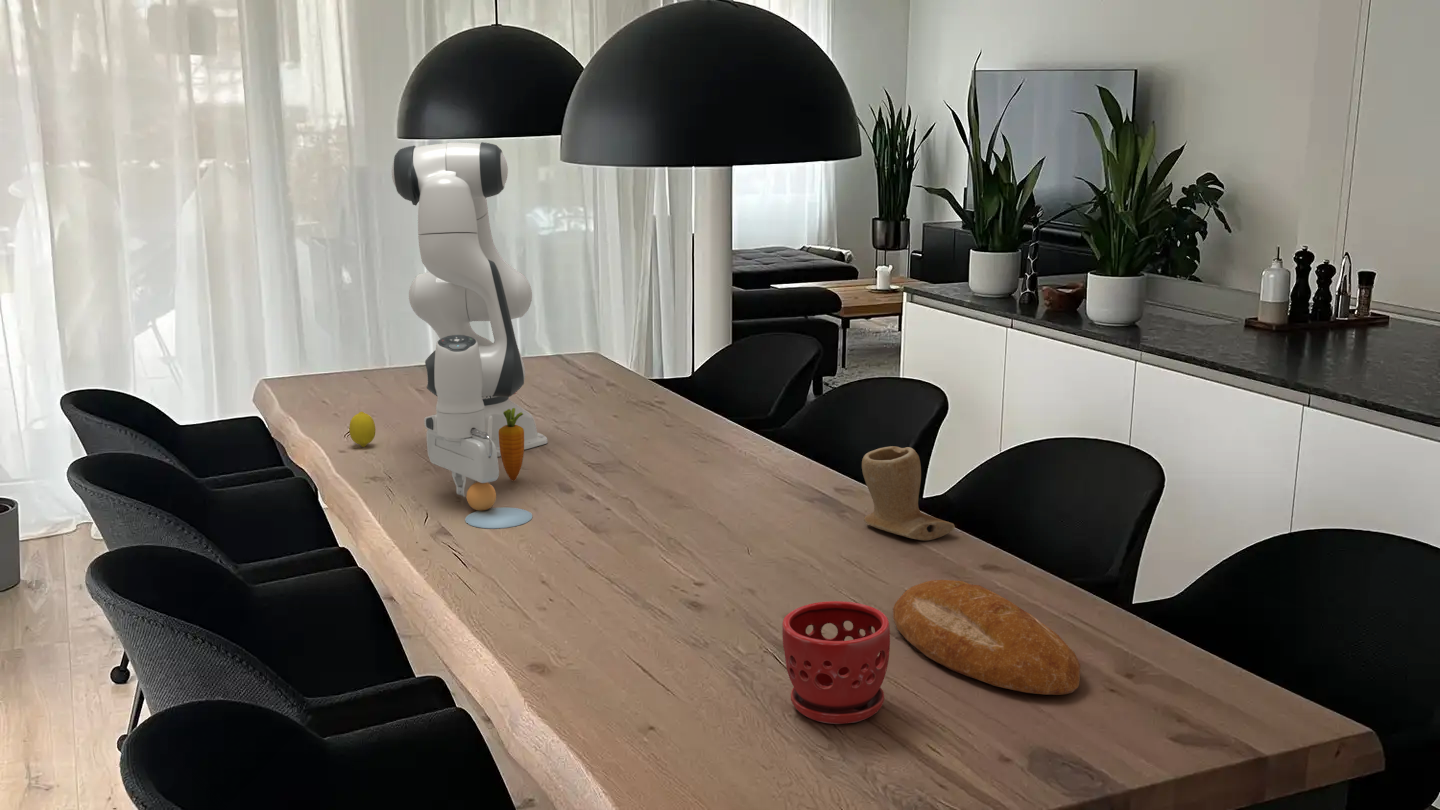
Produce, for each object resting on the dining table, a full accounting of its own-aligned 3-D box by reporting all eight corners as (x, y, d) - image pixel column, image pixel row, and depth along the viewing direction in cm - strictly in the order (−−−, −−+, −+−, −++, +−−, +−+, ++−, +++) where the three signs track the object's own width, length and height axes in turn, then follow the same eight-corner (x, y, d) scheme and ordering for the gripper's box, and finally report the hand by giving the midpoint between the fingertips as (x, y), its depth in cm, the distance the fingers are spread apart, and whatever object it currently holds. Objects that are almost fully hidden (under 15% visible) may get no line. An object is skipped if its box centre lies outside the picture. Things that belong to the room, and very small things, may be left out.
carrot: (512, 476, 271) (509, 403, 267) (531, 480, 268) (528, 407, 264) (495, 482, 267) (492, 408, 263) (513, 486, 264) (510, 411, 260)
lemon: (369, 450, 291) (367, 415, 289) (346, 449, 292) (343, 413, 290) (380, 444, 296) (378, 409, 294) (357, 443, 297) (355, 408, 296)
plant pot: (795, 681, 175) (796, 595, 172) (896, 693, 171) (898, 605, 169) (770, 725, 163) (770, 633, 160) (877, 739, 159) (879, 645, 156)
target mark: (509, 504, 252) (509, 503, 252) (545, 519, 243) (545, 518, 243) (453, 517, 244) (452, 516, 244) (487, 533, 235) (487, 532, 235)
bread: (1008, 718, 165) (1011, 650, 163) (856, 620, 196) (858, 563, 194) (1119, 690, 173) (1123, 625, 171) (956, 600, 204) (958, 545, 202)
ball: (498, 476, 249) (504, 504, 247) (483, 485, 252) (489, 513, 251) (473, 478, 245) (479, 506, 244) (458, 487, 249) (464, 515, 247)
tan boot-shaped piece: (846, 527, 237) (848, 445, 234) (897, 515, 244) (899, 435, 241) (904, 550, 225) (906, 464, 222) (956, 537, 232) (959, 453, 228)
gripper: (505, 431, 243) (508, 504, 246) (448, 412, 258) (452, 481, 262) (475, 437, 239) (478, 511, 242) (419, 417, 254) (423, 487, 258)
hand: (464, 495), depth 252 cm, fingers closed
